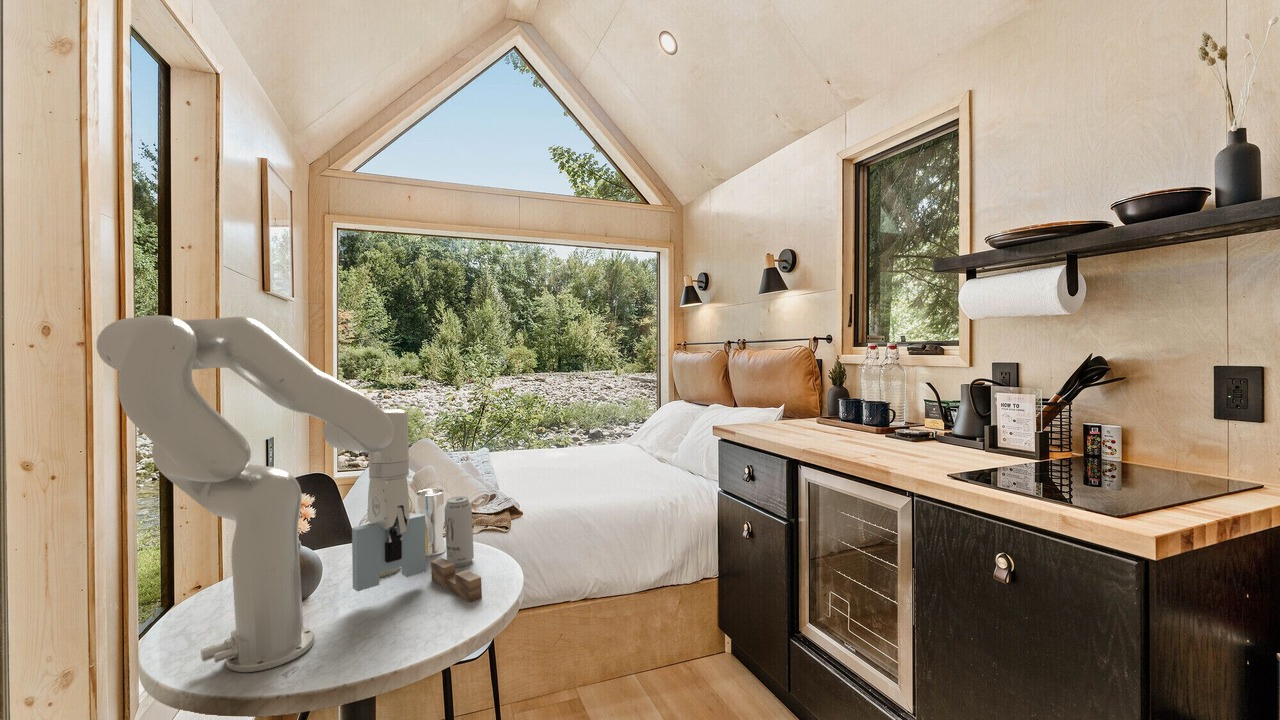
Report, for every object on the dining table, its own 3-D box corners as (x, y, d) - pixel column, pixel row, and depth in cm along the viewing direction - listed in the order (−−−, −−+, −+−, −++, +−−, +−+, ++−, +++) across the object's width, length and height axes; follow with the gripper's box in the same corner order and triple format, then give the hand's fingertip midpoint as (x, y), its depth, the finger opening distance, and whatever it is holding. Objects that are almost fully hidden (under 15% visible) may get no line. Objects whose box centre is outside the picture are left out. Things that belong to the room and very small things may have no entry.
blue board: (357, 591, 112) (356, 530, 112) (352, 588, 113) (352, 527, 113) (426, 571, 122) (425, 515, 122) (420, 568, 123) (420, 513, 123)
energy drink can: (441, 564, 133) (438, 500, 133) (463, 555, 138) (460, 494, 138) (457, 569, 130) (454, 504, 129) (479, 561, 134) (476, 498, 134)
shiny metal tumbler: (428, 559, 136) (425, 497, 136) (411, 553, 141) (408, 493, 140) (453, 550, 142) (450, 490, 141) (436, 544, 146) (434, 486, 146)
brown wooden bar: (481, 597, 115) (481, 576, 115) (470, 602, 113) (469, 581, 113) (442, 576, 126) (442, 557, 126) (431, 580, 124) (430, 561, 124)
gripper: (354, 467, 120) (356, 554, 120) (387, 477, 109) (388, 573, 109) (390, 462, 126) (391, 546, 126) (425, 471, 115) (426, 563, 115)
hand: (390, 558), depth 118 cm, fingers closed on blue board, 2 cm apart
